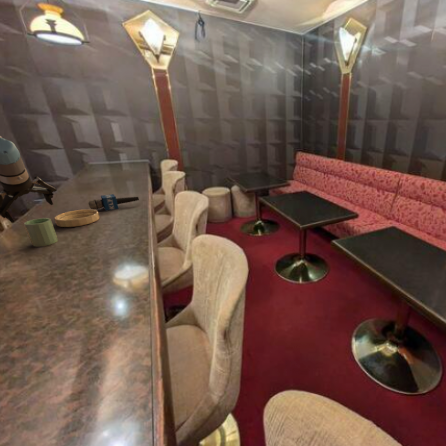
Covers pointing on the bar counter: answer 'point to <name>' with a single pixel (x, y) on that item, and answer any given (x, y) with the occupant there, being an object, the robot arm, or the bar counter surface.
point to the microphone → (110, 202)
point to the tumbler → (41, 232)
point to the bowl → (77, 218)
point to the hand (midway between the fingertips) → (31, 211)
